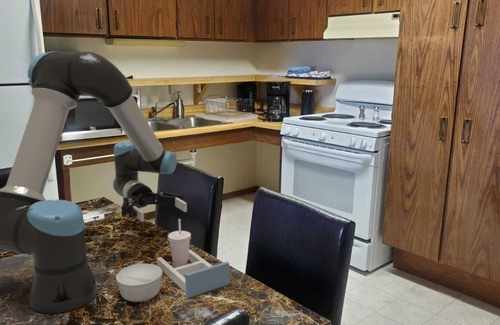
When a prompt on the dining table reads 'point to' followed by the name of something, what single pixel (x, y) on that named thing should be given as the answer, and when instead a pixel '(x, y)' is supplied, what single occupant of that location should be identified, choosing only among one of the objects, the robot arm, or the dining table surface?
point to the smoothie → (179, 246)
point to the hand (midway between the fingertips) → (164, 212)
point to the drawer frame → (197, 275)
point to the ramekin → (139, 282)
